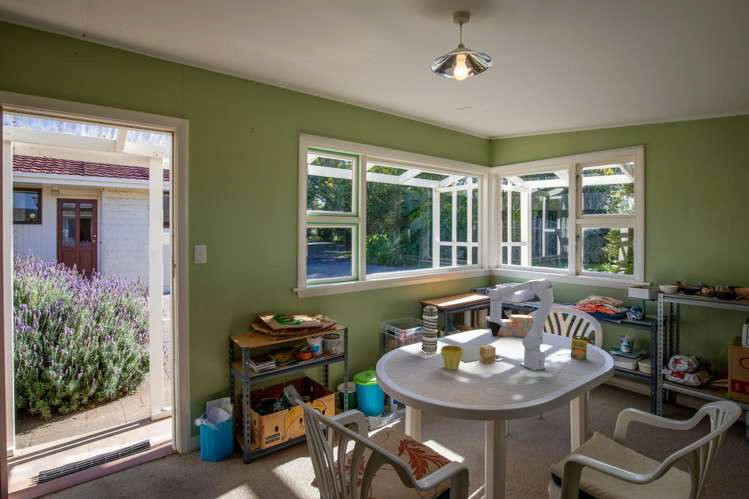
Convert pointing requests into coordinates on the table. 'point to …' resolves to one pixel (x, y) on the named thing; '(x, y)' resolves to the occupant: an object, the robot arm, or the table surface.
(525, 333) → the stack of blocks
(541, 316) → the robot arm
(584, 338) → the crayon box
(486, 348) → the oak block
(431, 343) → the decorative candle
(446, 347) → the plant pot
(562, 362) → the table surface
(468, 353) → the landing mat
